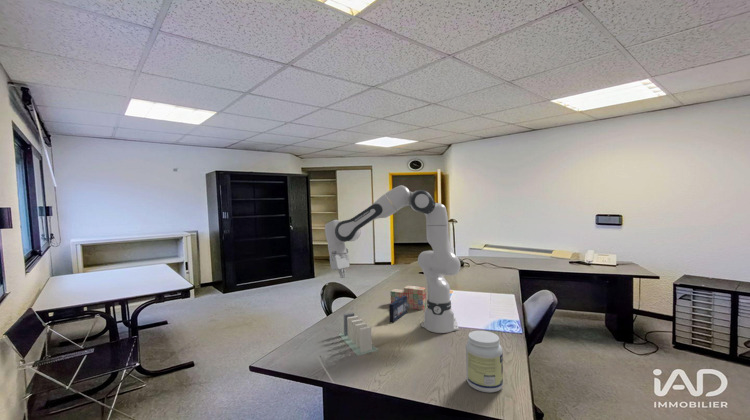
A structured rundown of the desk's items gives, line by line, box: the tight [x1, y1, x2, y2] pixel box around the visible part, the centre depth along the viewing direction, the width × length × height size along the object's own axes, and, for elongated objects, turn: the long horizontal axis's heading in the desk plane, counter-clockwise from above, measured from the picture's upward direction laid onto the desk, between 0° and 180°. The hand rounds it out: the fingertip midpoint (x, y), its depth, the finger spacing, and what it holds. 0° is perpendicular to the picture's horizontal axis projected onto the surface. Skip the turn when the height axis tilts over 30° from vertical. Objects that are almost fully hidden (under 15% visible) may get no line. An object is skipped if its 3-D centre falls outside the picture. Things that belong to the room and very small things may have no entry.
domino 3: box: [351, 318, 363, 344], centre depth 146 cm, size 2×5×10 cm, turn 116°
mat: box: [338, 332, 379, 357], centre depth 147 cm, size 25×10×1 cm, turn 26°
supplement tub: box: [465, 330, 504, 393], centre depth 111 cm, size 12×12×17 cm
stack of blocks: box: [390, 285, 427, 311], centre depth 197 cm, size 21×6×12 cm, turn 63°
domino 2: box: [347, 315, 359, 339], centre depth 151 cm, size 2×5×10 cm, turn 116°
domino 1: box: [343, 312, 355, 336], centre depth 156 cm, size 2×5×10 cm, turn 116°
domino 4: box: [355, 322, 368, 348], centre depth 142 cm, size 2×5×10 cm, turn 116°
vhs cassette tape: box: [388, 296, 408, 324], centre depth 178 cm, size 18×3×10 cm, turn 148°
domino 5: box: [359, 325, 373, 353], centre depth 138 cm, size 2×5×10 cm, turn 116°
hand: (343, 277), depth 161 cm, fingers closed
